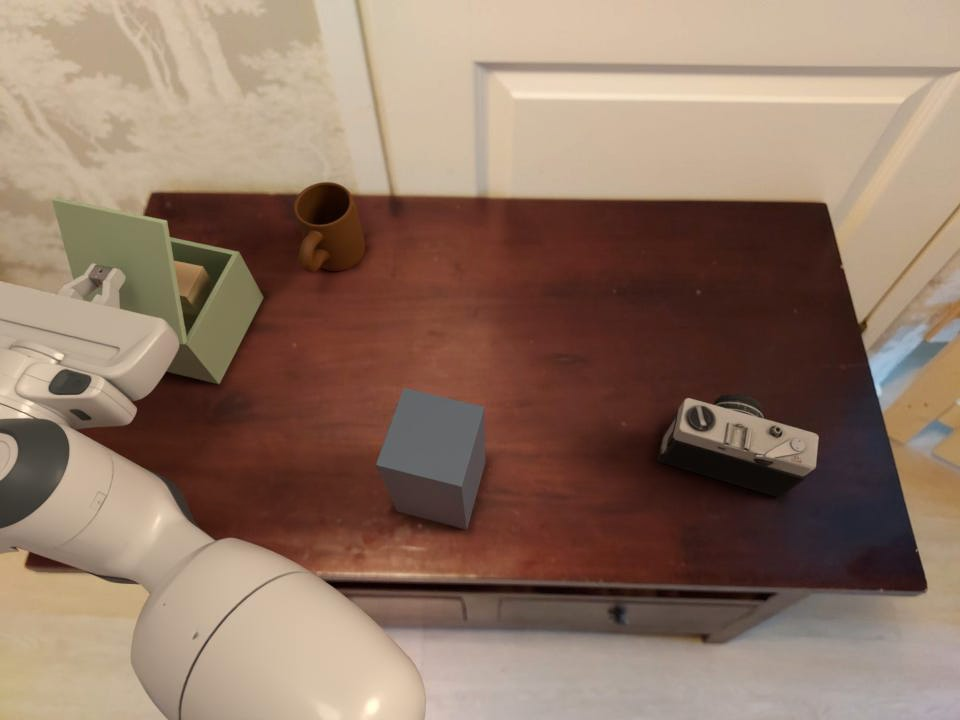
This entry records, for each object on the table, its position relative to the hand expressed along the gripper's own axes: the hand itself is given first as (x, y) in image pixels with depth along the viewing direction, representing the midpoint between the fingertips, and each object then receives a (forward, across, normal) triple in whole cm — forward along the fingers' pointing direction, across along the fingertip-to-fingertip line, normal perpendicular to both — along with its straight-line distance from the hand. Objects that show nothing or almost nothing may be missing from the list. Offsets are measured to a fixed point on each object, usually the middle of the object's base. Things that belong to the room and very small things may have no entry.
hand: (110, 269), depth 66 cm
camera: (+4, +66, -18) cm, 69 cm away
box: (+4, 0, -18) cm, 18 cm away
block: (+6, 0, -17) cm, 18 cm away
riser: (-8, +36, -18) cm, 41 cm away
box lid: (+1, 0, -2) cm, 2 cm away
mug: (+18, +13, -18) cm, 29 cm away
